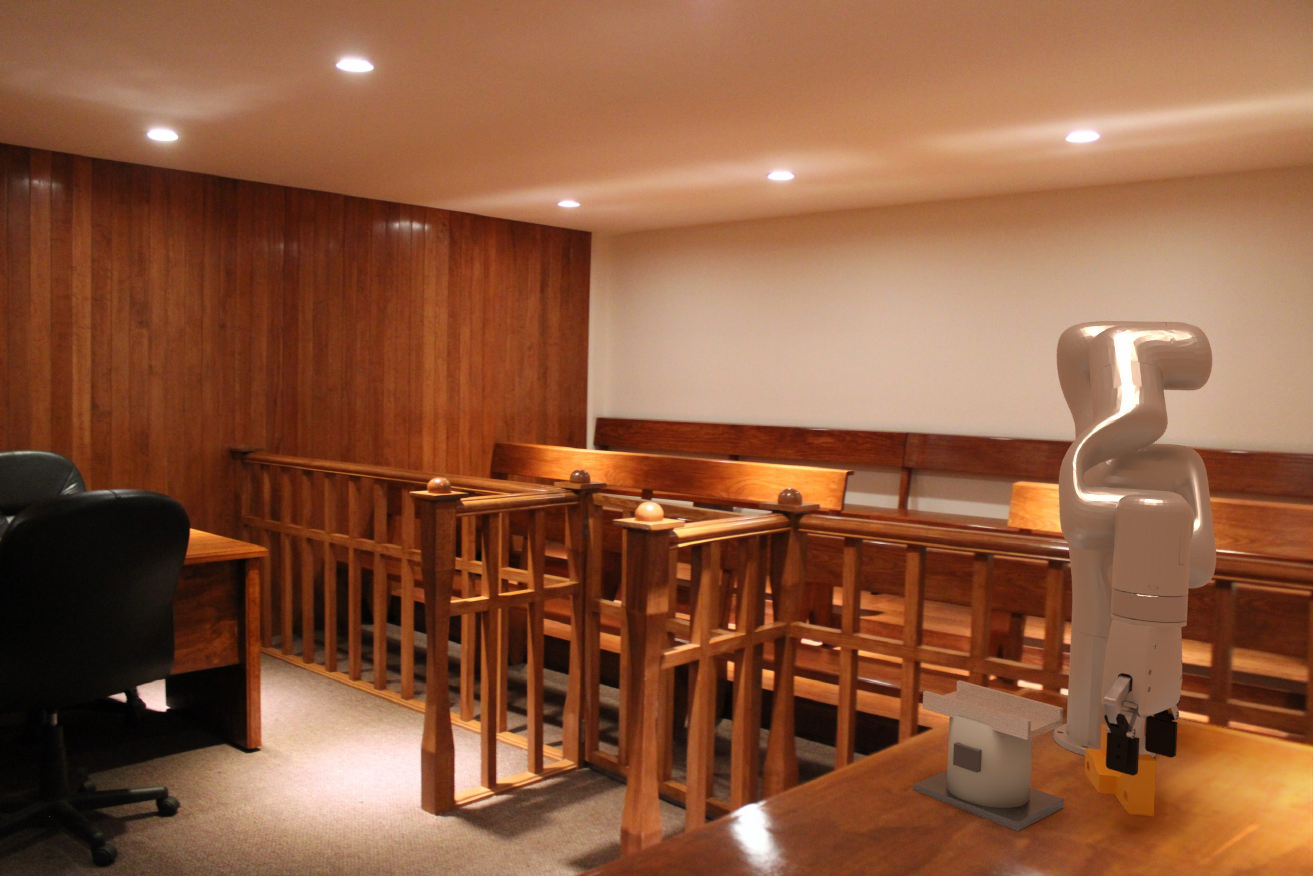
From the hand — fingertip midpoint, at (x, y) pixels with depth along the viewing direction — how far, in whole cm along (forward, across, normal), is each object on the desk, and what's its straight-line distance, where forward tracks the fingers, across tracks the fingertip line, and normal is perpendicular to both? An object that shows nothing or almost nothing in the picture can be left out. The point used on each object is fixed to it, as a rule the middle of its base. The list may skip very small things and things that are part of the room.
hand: (1141, 762), depth 112 cm
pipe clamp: (+6, -5, -5) cm, 9 cm away
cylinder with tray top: (+6, +9, -13) cm, 17 cm away
